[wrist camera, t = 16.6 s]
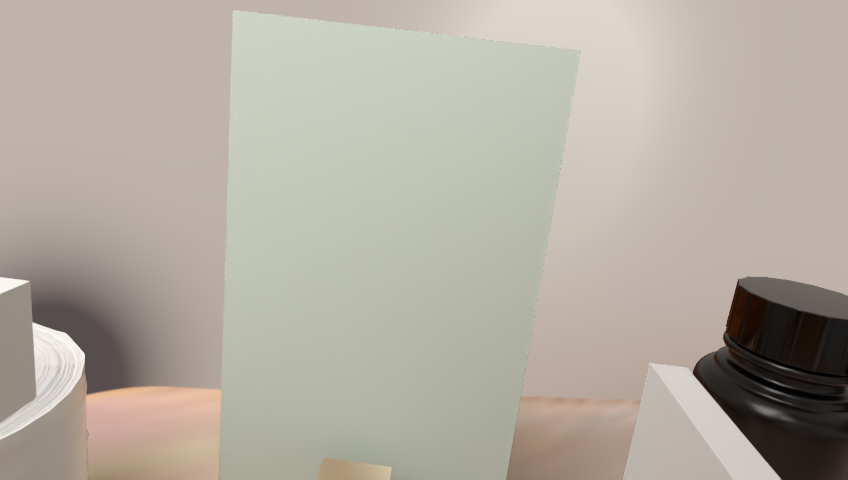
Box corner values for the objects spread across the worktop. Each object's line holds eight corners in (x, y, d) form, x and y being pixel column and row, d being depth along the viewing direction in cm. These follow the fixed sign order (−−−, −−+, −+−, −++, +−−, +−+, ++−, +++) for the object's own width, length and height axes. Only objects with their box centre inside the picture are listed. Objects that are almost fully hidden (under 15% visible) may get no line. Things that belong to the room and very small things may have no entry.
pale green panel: (479, 559, 26) (563, 57, 21) (482, 617, 23) (581, 50, 18) (242, 525, 27) (263, 21, 21) (215, 578, 24) (232, 10, 18)
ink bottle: (889, 545, 30) (967, 336, 27) (746, 555, 28) (815, 331, 26) (753, 437, 40) (801, 272, 37) (639, 439, 38) (680, 265, 35)
